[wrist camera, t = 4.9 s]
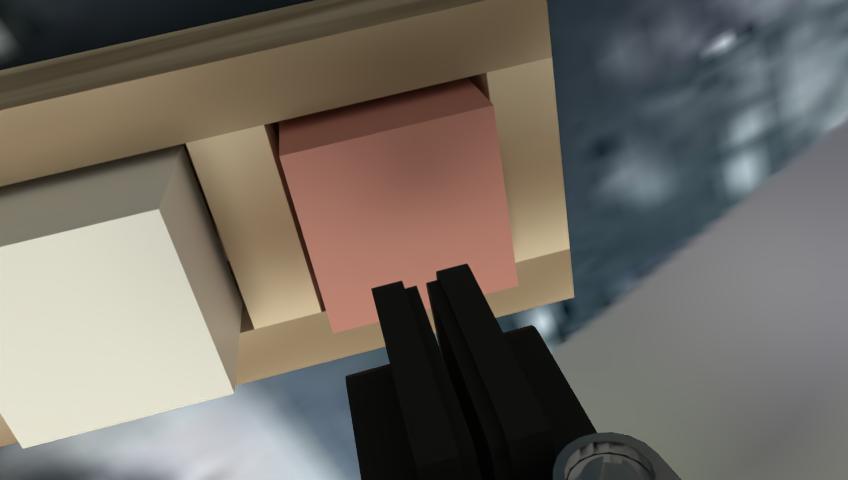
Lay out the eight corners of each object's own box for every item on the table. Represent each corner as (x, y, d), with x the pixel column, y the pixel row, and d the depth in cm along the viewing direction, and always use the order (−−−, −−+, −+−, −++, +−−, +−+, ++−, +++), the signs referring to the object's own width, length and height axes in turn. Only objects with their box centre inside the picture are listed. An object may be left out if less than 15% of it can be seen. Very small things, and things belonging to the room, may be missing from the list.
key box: (-334, 144, 20) (-533, 231, 15) (486, -38, 21) (545, -14, 17) (-151, 386, 24) (-259, 514, 19) (519, 219, 26) (574, 297, 21)
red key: (279, 105, 19) (279, 156, 16) (455, 64, 20) (493, 105, 16) (324, 259, 22) (333, 333, 18) (480, 220, 22) (518, 285, 18)
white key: (-17, 190, 17) (-92, 269, 14) (182, 143, 18) (158, 209, 14) (68, 347, 20) (22, 448, 16) (242, 304, 20) (234, 393, 17)
